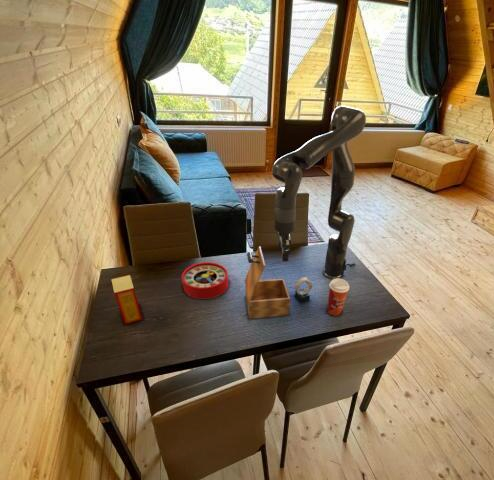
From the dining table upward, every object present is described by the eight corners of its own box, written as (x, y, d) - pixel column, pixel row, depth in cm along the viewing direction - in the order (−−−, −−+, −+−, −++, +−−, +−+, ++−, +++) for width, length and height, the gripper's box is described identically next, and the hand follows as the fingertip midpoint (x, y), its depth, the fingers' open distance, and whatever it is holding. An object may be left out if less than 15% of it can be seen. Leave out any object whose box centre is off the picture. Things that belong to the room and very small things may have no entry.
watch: (312, 299, 141) (315, 280, 135) (297, 304, 138) (299, 284, 131) (306, 292, 145) (309, 273, 138) (291, 296, 142) (293, 277, 135)
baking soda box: (121, 309, 128) (110, 278, 119) (138, 304, 131) (129, 273, 122) (125, 324, 122) (114, 292, 112) (142, 319, 125) (133, 287, 115)
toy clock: (213, 257, 153) (236, 277, 141) (214, 267, 156) (236, 287, 145) (173, 271, 141) (195, 294, 130) (175, 282, 145) (197, 305, 133)
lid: (260, 246, 125) (247, 243, 123) (265, 265, 115) (251, 262, 112) (246, 280, 134) (234, 278, 132) (249, 301, 123) (236, 299, 121)
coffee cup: (331, 319, 132) (337, 291, 123) (321, 307, 137) (325, 280, 128) (347, 314, 135) (354, 286, 126) (336, 302, 141) (342, 275, 132)
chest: (282, 294, 143) (284, 278, 138) (289, 315, 132) (290, 298, 127) (245, 297, 140) (245, 281, 134) (249, 318, 129) (248, 302, 124)
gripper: (299, 226, 109) (296, 264, 119) (291, 208, 120) (288, 244, 130) (278, 227, 108) (276, 265, 118) (271, 209, 119) (271, 246, 129)
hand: (283, 254), depth 124 cm, fingers open, 8 cm apart
